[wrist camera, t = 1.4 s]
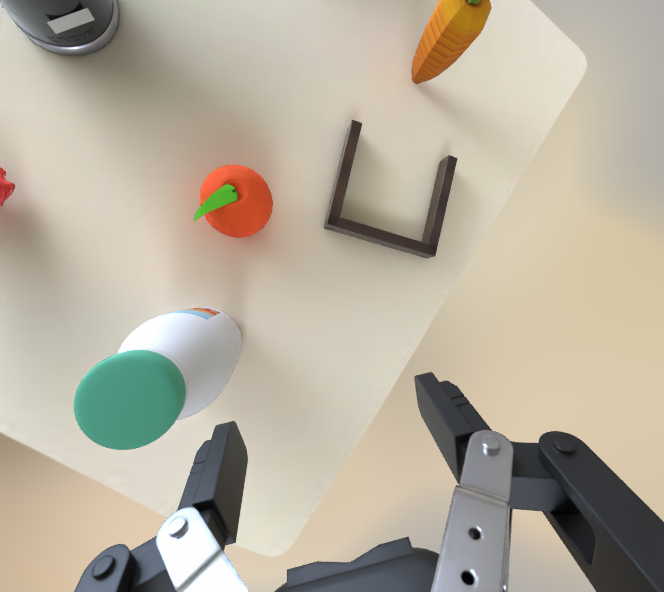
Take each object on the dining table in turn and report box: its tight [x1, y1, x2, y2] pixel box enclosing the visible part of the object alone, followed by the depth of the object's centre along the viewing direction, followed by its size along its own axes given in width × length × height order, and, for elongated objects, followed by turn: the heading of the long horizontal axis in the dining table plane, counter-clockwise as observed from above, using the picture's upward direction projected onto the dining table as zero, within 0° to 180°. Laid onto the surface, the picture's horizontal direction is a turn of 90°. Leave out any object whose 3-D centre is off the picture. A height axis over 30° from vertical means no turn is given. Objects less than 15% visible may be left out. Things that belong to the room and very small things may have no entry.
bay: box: [324, 120, 457, 258], centre depth 38 cm, size 12×13×2 cm
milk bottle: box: [74, 307, 242, 450], centre depth 25 cm, size 8×8×20 cm
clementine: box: [194, 165, 273, 237], centre depth 32 cm, size 8×7×7 cm
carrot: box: [412, 0, 491, 84], centre depth 32 cm, size 5×5×15 cm
